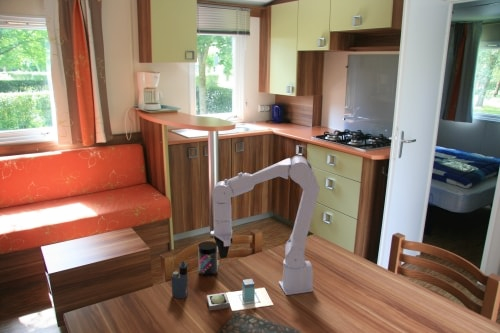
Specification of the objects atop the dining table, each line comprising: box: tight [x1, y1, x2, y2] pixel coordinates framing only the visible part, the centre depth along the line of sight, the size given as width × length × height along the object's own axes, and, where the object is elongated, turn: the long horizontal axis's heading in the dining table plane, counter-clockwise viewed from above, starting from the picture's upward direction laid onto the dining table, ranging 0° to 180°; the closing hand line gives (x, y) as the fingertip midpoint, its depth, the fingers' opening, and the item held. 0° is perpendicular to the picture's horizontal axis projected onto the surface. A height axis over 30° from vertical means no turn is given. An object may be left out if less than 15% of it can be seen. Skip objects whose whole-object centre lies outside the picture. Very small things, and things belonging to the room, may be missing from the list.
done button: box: [211, 295, 225, 304], centre depth 125 cm, size 4×4×2 cm
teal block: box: [241, 278, 256, 302], centre depth 127 cm, size 3×3×6 cm
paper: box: [225, 287, 274, 312], centre depth 128 cm, size 13×10×1 cm
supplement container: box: [197, 240, 219, 277], centre depth 143 cm, size 7×7×10 cm
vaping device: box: [170, 261, 189, 299], centre depth 128 cm, size 3×5×12 cm, turn 78°
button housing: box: [206, 292, 230, 311], centre depth 125 cm, size 6×6×2 cm
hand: (223, 257), depth 133 cm, fingers closed
